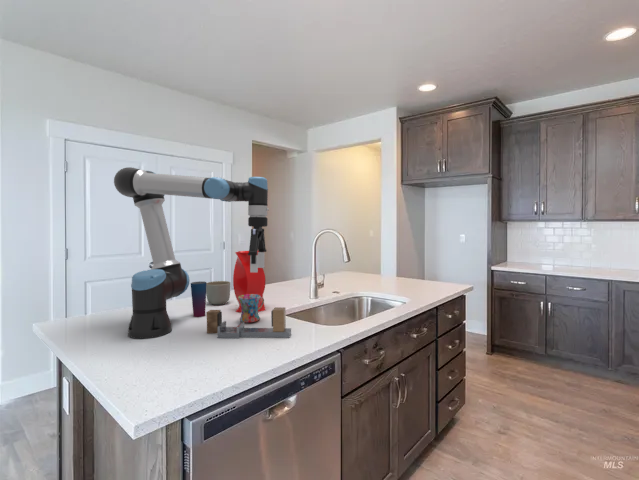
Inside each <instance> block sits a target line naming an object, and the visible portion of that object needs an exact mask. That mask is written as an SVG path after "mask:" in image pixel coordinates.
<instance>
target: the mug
mask: <svg viewBox="0 0 639 480" xmlns="http://www.w3.org/2000/svg"><path fill="white" fill-rule="evenodd" d="M238 298H239V300H240V303H241V308H242V313H241V312H240V313H241V315H240V318H239V321H240V323H241V322H242V321H244V324H246V323H247V324H250V323H256V322H258V321H260V319H261V317H260V315H259V312H258V310H259V309H260V308H261V307H262V305H263V303H264V304H265V299H264V297H263V298H262V297H261V296H260V295H257V294H246V295H241V296H239V297H238ZM260 298H262V299H263V302H262V304H261V306H260V307H259V308H258V303H259V299H260Z"/></svg>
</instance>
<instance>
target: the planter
mask: <svg viewBox="0 0 639 480" xmlns="http://www.w3.org/2000/svg"><path fill="white" fill-rule="evenodd" d="M230 297H231V282H230V281H227V280H215V281H208V282H207V284H206V302H208V303H209V304H211V305H212V306H220V305H221V306H222V305H225V304H227V303H228V302H229V300H230Z"/></svg>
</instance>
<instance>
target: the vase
mask: <svg viewBox="0 0 639 480" xmlns="http://www.w3.org/2000/svg"><path fill="white" fill-rule="evenodd" d="M258 252H259V251H257V255H258ZM248 253H249V250H237V251H234V254H236V256H237V258H236V260H235V264H234V270H233V275H232V276H233V277H232V285H233V293H234V296H235V298H236V300H237V303H238V308H237V309H236V310H235V312H236V313H242V308H241V303H240V300H239V298H238V297H239V296H241V295H246V294H257V295H260V296H261V297H262V298H264V292H265V288H266V275H265V274H266V273H265V271H264V268H258V272H250V255H248ZM262 298H260V299H259V303H258V308H259V307H260V306H261V304H262V302H263V299H262ZM264 311H266V306H265V302H264V303H263V305H262V307H261V308H260V309H259V310H258V313H260V312H264Z"/></svg>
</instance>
